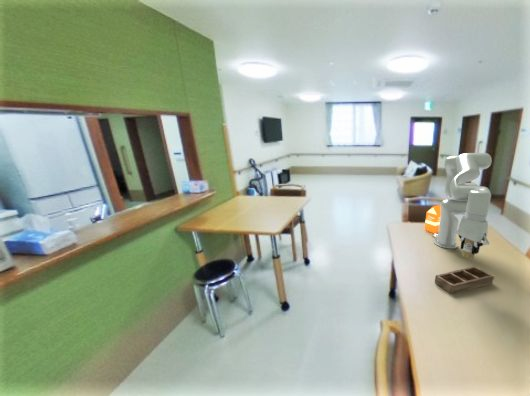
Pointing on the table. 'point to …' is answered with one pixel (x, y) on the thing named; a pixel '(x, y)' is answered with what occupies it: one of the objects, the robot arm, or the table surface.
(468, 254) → the sprinkles bottle
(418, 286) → the table surface
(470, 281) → the rack
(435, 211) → the orange juice
